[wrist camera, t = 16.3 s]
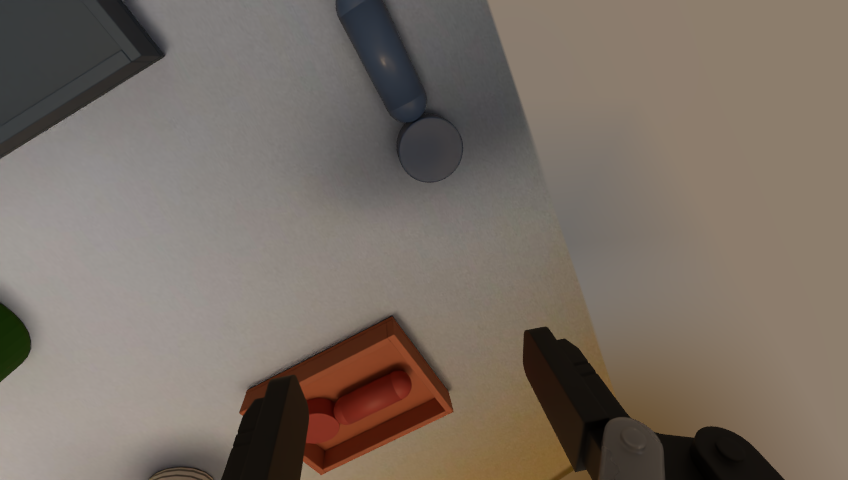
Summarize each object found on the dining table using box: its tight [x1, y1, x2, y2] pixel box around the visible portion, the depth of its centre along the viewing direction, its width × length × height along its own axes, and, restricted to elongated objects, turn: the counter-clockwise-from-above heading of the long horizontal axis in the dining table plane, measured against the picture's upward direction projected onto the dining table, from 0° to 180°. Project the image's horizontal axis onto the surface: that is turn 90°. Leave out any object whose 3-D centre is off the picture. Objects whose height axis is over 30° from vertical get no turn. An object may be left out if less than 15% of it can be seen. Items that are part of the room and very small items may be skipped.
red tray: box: [239, 317, 453, 475], centre depth 31 cm, size 14×11×2 cm
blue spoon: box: [336, 0, 463, 182], centre depth 20 cm, size 11×4×2 cm, turn 27°
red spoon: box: [306, 370, 412, 444], centre depth 30 cm, size 11×4×2 cm, turn 117°
